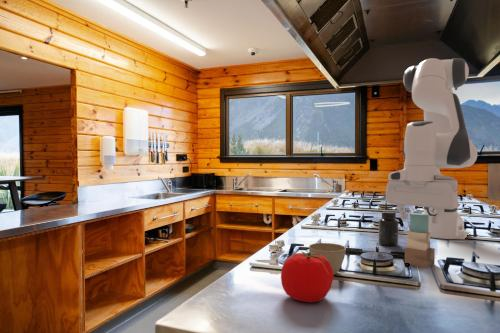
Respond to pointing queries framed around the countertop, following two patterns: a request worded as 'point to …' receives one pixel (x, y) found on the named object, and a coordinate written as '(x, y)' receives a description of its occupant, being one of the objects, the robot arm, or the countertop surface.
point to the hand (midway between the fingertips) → (419, 221)
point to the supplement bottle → (388, 229)
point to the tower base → (420, 257)
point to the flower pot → (330, 253)
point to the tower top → (418, 240)
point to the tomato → (307, 277)
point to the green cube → (419, 223)
